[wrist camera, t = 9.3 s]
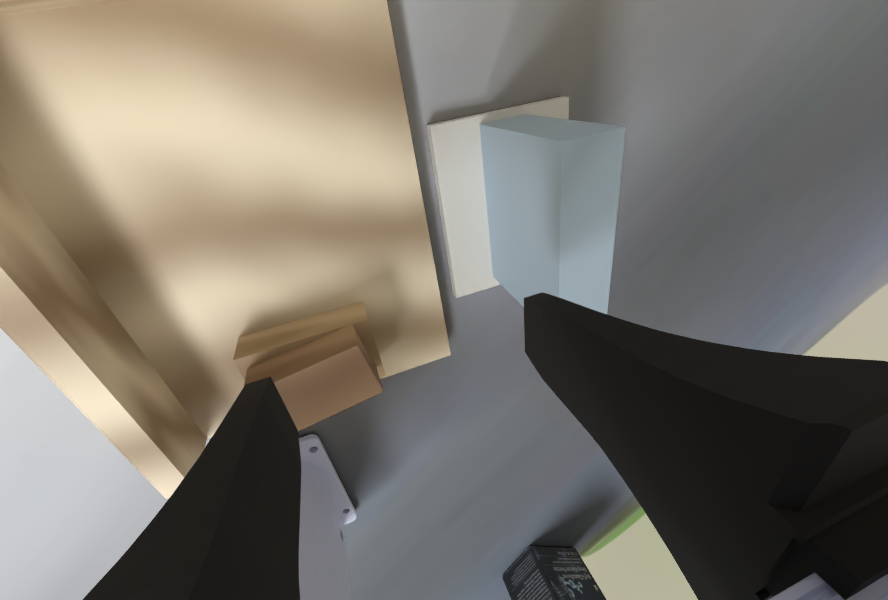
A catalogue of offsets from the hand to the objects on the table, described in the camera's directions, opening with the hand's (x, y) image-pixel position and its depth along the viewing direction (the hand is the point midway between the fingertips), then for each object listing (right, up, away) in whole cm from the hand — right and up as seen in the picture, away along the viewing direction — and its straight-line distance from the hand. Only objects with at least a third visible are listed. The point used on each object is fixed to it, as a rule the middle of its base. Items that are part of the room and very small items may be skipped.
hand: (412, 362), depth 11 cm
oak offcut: (-6, -1, +9) cm, 11 cm away
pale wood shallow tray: (-7, +5, +6) cm, 11 cm away
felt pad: (+4, +7, +9) cm, 12 cm away
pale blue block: (+4, +7, +9) cm, 12 cm away
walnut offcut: (-5, -2, +7) cm, 9 cm away
